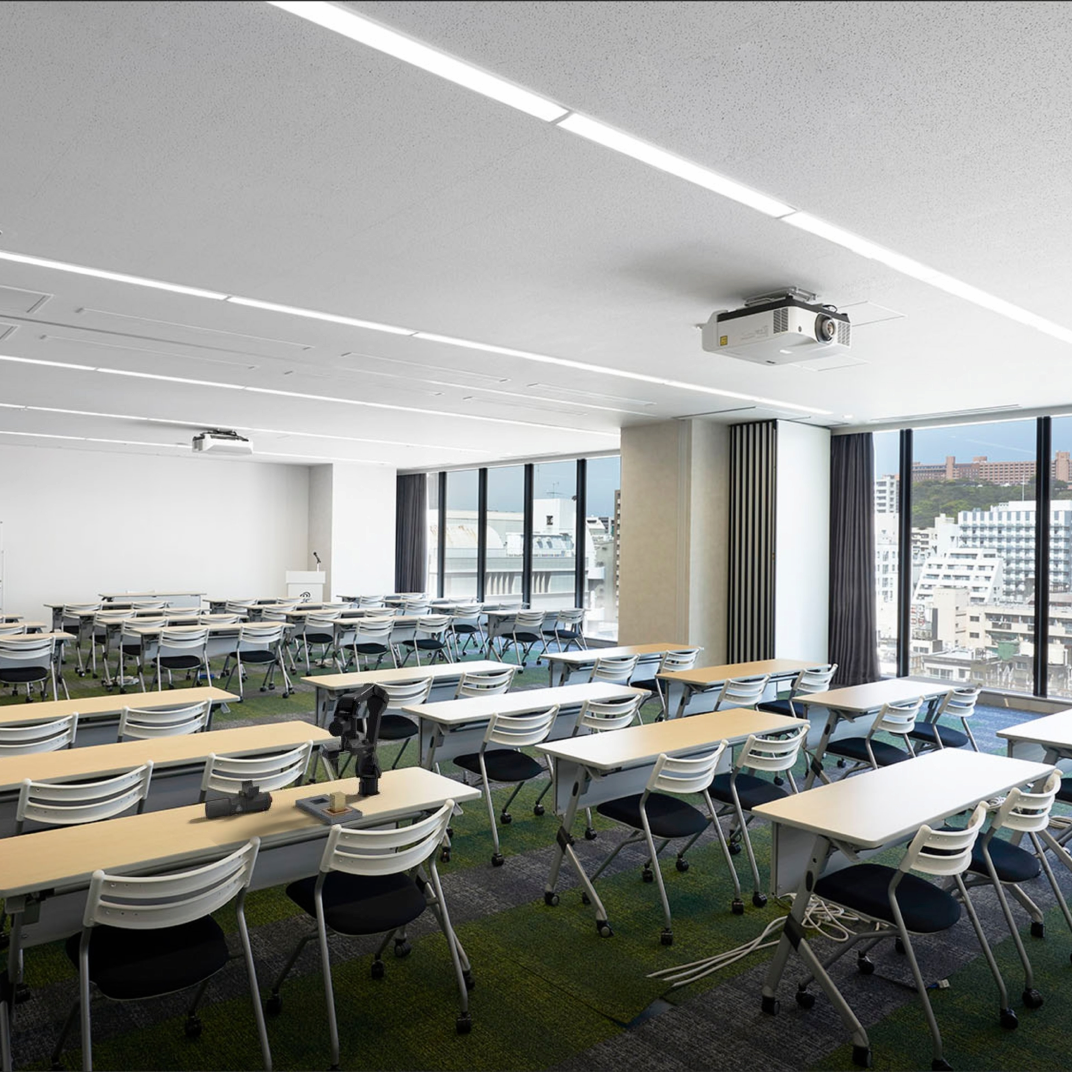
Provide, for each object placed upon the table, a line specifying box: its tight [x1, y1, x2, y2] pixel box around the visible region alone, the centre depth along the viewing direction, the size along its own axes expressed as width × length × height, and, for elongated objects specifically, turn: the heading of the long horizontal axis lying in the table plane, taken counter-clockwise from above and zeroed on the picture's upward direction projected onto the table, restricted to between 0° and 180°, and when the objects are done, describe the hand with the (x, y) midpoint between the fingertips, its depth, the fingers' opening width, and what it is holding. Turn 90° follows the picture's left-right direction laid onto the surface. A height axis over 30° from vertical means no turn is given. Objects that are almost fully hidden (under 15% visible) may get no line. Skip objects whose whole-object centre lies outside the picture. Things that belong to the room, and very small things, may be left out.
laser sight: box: [204, 779, 273, 819], centre depth 301 cm, size 10×22×10 cm, turn 124°
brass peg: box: [329, 790, 346, 814], centre depth 297 cm, size 4×4×8 cm
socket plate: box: [294, 793, 364, 826], centre depth 302 cm, size 12×28×2 cm, turn 41°
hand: (348, 774), depth 308 cm, fingers open, 9 cm apart
